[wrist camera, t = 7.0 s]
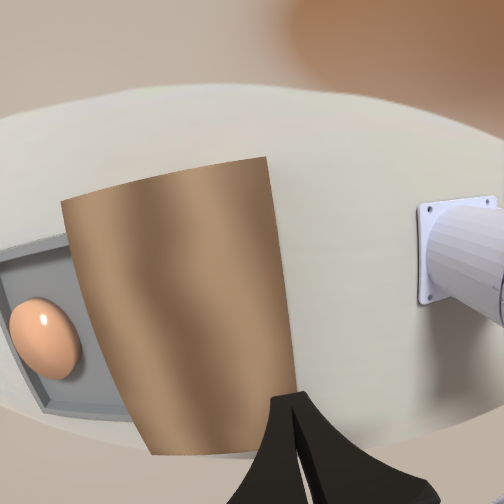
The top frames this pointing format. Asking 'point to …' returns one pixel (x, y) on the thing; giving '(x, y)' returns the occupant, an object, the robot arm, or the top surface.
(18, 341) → the peach rounded disc
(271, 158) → the top surface
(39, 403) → the tray
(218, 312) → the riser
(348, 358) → the top surface
